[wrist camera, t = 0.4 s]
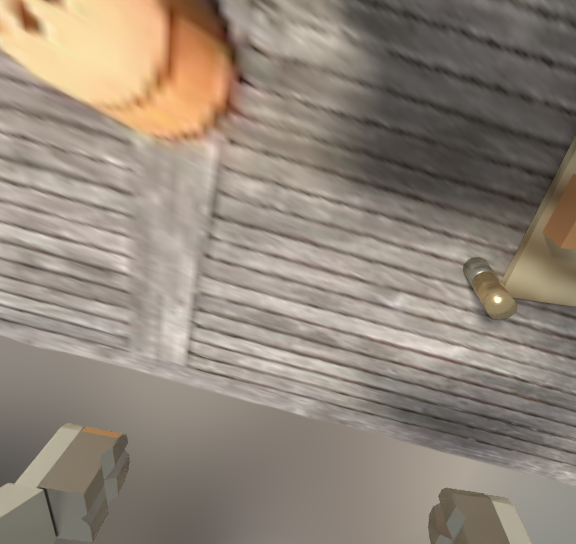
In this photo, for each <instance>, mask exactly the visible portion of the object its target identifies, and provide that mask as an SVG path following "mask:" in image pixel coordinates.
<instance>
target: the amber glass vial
mask: <svg viewBox="0 0 576 544" xmlns="http://www.w3.org/2000/svg"><path fill="white" fill-rule="evenodd" d="M463 272H464V274H465V275H466V277H467V279H468V280H469V282H470V284H471V286H472V287H473V289H474V291H475V292H476V294H477V296H478V298H479V299H480V301H481V303H482V304H483V306H484V308H485V310H486V311H487V313H488V315H489V316H490V317H491V318H493V319H498V320H501V319H506V318H508V317H510V316H512V315H513V314H514V313H515V312H516V310H517V303H516V302H515V300H514V299H513V297H512V296H511V295H510V293H509V292H508V291H507V289H506V288H505V286H504V285H503V284H502V282H501V281H500V279H499V278H498V277H497V275H496V274H495V273H494V271H493V270H492V268H491V267H490V266H489V264H488V263H487V261H486V260H485V259H483V258H480V257H475V258H472V259H470V260H468V261H467V262H466V263H465V264H464V266H463Z"/></svg>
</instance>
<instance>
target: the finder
mask: <svg viewBox="0 0 576 544" xmlns="http://www.w3.org/2000/svg"><path fill="white" fill-rule="evenodd" d="M543 233H544V234H545V235H546V236H547V237H549V238H550V239H551V240H552V241H553V242H554V243H555V244H557V245H558V246H559V247H560V248H566V249H573V250H576V174H573V176H572V178H571V180H570V181H569V183H568V185H567V187H566V189H565V191H564V193H563V195H562V196H561V198H560V200H559V202H558V204H557V206H556V208H555V209H554V211H553V213H552V215H551V217H550V219H549V221H548V223H547V224H546V226H545V228H544V230H543Z"/></svg>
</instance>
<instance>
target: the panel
mask: <svg viewBox="0 0 576 544" xmlns="http://www.w3.org/2000/svg"><path fill="white" fill-rule="evenodd" d="M573 174H576V136H575V137H574V139H573V141H572V143H571V145H570V147H569V149H568V151H567V153H566V155H565V157H564V159H563V161H562V163H561V165H560V167H559V169H558V171H557V173H556V175H555V177H554V179H553V181H552V183H551V185H550V187H549V189H548V191H547V193H546V195H545V196H544V198H543V200H542V202H541V204H540V206H539V208H538V210H537V212H536V214H535V216H534V218H533V220H532V222H531V224H530V226H529V228H528V230H527V232H526V234H525V236H524V238H523V240H522V242H521V244H520V246H519V248H518V250H517V252H516V254H515V255H514V257H513V259H512V261H511V263H510V265H509V267H508V269H507V271H506V273H505V275H504V277H503V279H502V281H501V282H502V284H503V285H504V286H505V288H506V289H507V291H508V292H509V293H510V295H511V296H512V297H513V298H519V299H526V300H533V301H539V302H546V303H553V304H560V305H566V306H573V307H576V250H573V249H566V248H560V247H559V246H558V245H557V244H555V243H554V242H553V241H552V240H551V239H550V238H549V237H547V236H546V235H545V234H544V233H543V230H544V228H545V226H546V224H547V223H548V221H549V219H550V217H551V215H552V213H553V211H554V209H555V208H556V206H557V204H558V202H559V200H560V198H561V196H562V195H563V193H564V191H565V189H566V187H567V185H568V183H569V181H570V180H571V178H572V176H573Z"/></svg>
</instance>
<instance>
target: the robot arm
mask: <svg viewBox="0 0 576 544" xmlns="http://www.w3.org/2000/svg"><path fill="white" fill-rule="evenodd" d="M127 444H128V439H127V434H123V433H118V432H112V431H107V430H102V429H97V428H92V427H87V426H82V425H76V424H70V423H67V424H65V425H64V426H63V427H61V428H60V429H59V430H58V431H57V432H56V434H55V435H54V436H53V437H52V439H51V440H50V441H49V442H48V443H47V445H46V446H45V447H44V448H43V450H42V451H41V452H40V453H39V454H38V456H37V457H36V458H35V459H34V461H33V462H32V463H31V464H30V465H29V467H28V468H27V469H26V470H25V472H24V473H23V474H22V475H21V477H20V478H19V479H18V480H17V481H16V483H15V484H11V483H8V484H6V485H4V486H2V487H1V488H0V544H53V543H54V542H55V541H56V540H57V538H64V539H71V540H78V541H85V542H91V543H93V541H94V540H95V537H96V536H97V534H98V532H99V530H100V528H101V526H102V524H103V523H104V521H105V519H106V517H107V515H108V505H107V502H109V501H110V500H111V499H113V498H114V497H116V496H117V495H118V494H119V492H120V490H121V488H122V486H123V484H124V482H125V479H126V476H127V473H128V470H129V463H130V461H129V454H128V453H127V452H126V451H125V450H124V449H125V448H126V446H127ZM439 500H440V503H439V504H437V505H436V506H434V507H433V508H432V510H431V512H430V515H429V523H428V524H429V525H428V529H429V538H430V542H431V544H531V541H530V539H529V537H528V535H527V533H526V531H525V529H524V527H523V525H522V523H521V521H520V519H519V517H518V515H517V512H516V510H515V508H514V507H513V504H512V503H511V502H510V501H509V500H508V499H507V498H504V497H499V496H492V495H485V494H483V493H477V492H471V491H464V490H457V489H451V488H444V489H442V490H441V492H440V494H439ZM56 537H57V538H56Z"/></svg>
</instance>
